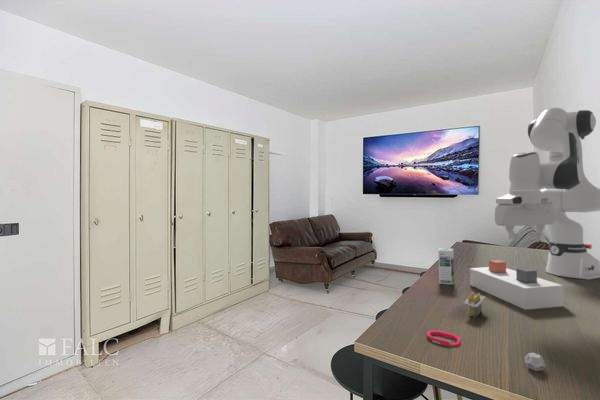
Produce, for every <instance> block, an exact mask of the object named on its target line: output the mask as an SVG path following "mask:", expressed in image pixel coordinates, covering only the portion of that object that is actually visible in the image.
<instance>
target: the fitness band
mask: <svg viewBox="0 0 600 400" xmlns="http://www.w3.org/2000/svg"><path fill="white" fill-rule="evenodd" d="M426 336H427V338H428V339H430V340H431V343H435V344H438V345H441V346H446V347H454V348H455V347H459V346H460V345H461V338H460V337H459V336H458V335H455V334H453V333H449V332H445V331H441V330H429V331H427V332H426ZM435 336H440V337H445V338H449V339H451V340H454V341H456V342H454V343H451V341H450V340H447V339H443V338H439V337H435Z"/></svg>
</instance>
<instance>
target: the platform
mask: <svg viewBox="0 0 600 400" xmlns="http://www.w3.org/2000/svg"><path fill="white" fill-rule="evenodd" d="M485 300H486V296H484V295H481V294H480V292H479V293H478V294H477V295H475V293H474V291H473V292H472V293H471V294H470V295H469V296H467V298H466V299H465V300H464V304H465V305H468V309H469V310H468V315H469V316H471V317H473V319H474V320H475V319H476V318H477V317H478V315H479V314H480V313H482V311H483V309H482V303H483V302H484V301H485Z"/></svg>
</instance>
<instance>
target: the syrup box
mask: <svg viewBox="0 0 600 400" xmlns="http://www.w3.org/2000/svg"><path fill="white" fill-rule="evenodd" d="M454 252H455V251H454V248H444V247H439V248H438V273H439V274H438V279H439V280H438V281H439V282H438V283H439V284H440V285H452V286H455V266H454V265H455V264H454V263H455V260H454V259H455V258H454V256H455V255H454Z"/></svg>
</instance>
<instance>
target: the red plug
mask: <svg viewBox="0 0 600 400" xmlns="http://www.w3.org/2000/svg"><path fill="white" fill-rule="evenodd" d="M488 267H489V271H491V272H494V273H506V268H507V261H504V260H500V259H490V260H488Z"/></svg>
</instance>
